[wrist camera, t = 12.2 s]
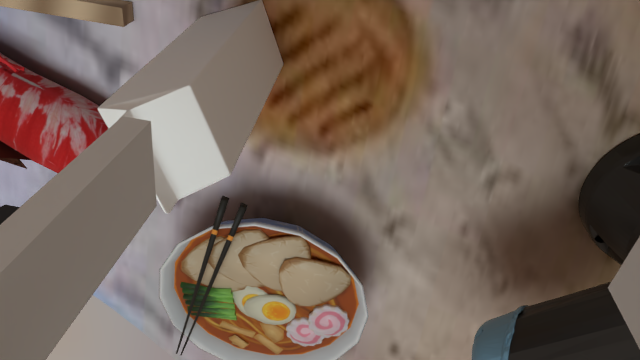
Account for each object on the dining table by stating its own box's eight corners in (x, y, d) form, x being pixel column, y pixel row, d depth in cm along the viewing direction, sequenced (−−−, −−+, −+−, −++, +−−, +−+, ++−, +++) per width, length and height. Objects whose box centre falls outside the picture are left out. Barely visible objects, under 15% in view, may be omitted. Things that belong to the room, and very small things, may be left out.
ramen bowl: (321, 349, 67) (314, 405, 60) (160, 291, 64) (134, 343, 57) (410, 222, 53) (414, 276, 46) (211, 140, 50) (185, 185, 43)
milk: (262, -2, 42) (170, 107, 23) (284, 64, 45) (218, 207, 26) (198, 17, 43) (64, 133, 25) (224, 80, 46) (122, 225, 28)
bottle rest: (132, 2, 43) (122, 8, 41) (145, 168, 53) (138, 178, 51) (-155, -46, 43) (-176, -42, 42) (-88, 127, 53) (-103, 136, 52)
